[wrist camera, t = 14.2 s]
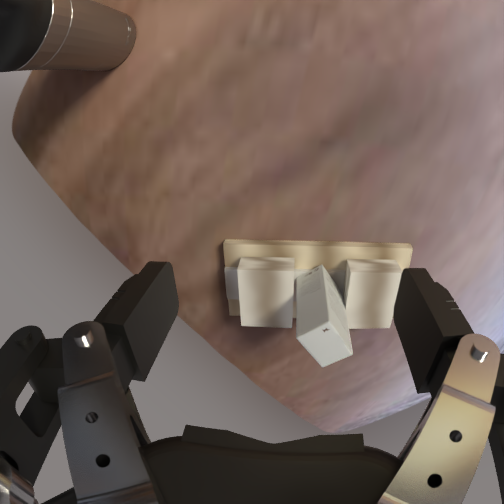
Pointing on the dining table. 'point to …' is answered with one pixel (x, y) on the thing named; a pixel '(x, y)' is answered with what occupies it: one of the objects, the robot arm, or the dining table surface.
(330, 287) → the skincare box
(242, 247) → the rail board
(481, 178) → the dining table surface
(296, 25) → the dining table surface
